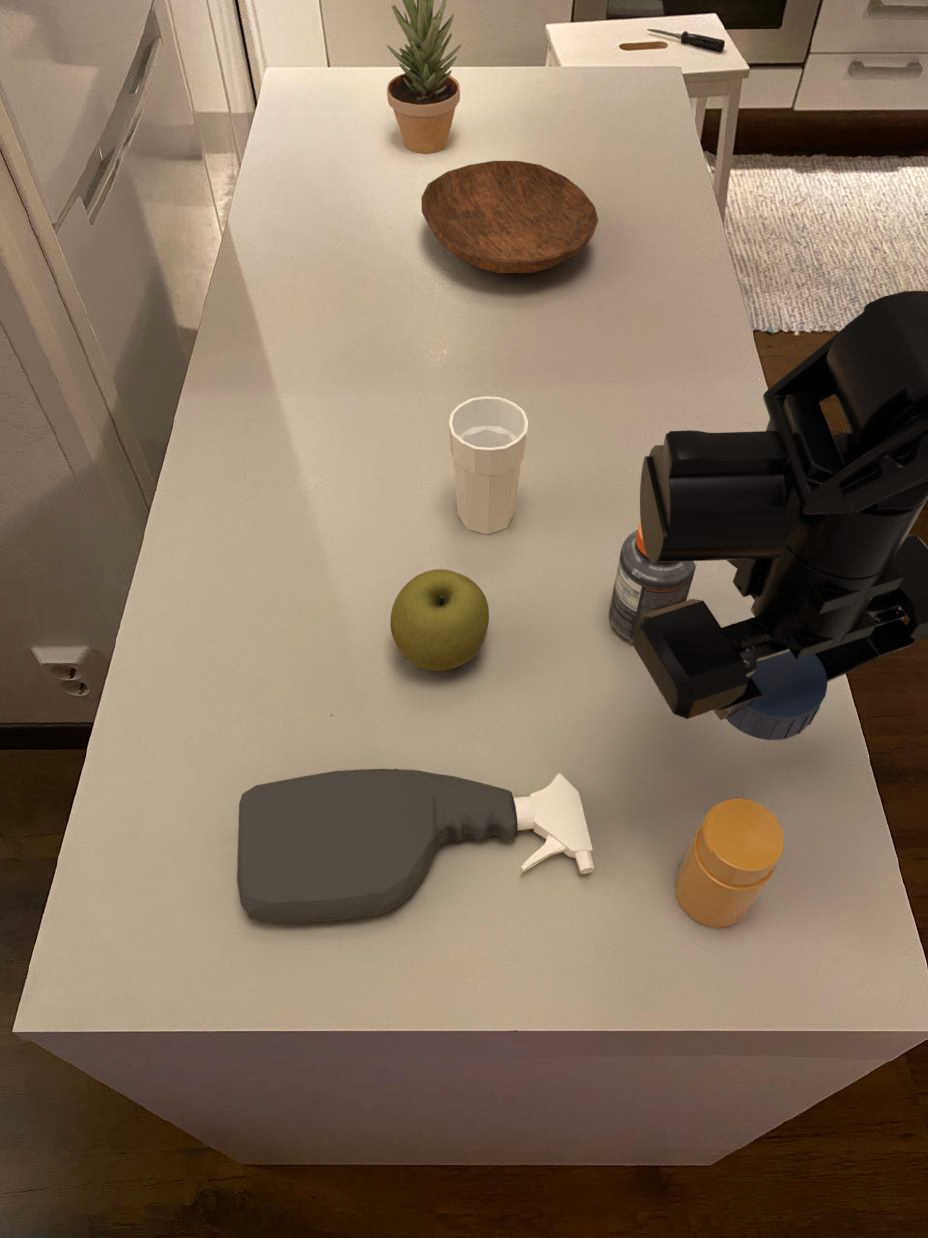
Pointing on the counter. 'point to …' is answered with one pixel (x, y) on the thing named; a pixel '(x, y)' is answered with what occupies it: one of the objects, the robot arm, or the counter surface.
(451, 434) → the cup
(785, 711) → the jar lid
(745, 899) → the jar
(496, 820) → the spray bottle
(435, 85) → the potted plant
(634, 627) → the pill bottle
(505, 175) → the bowl
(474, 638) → the apple
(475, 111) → the counter surface
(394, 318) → the counter surface
